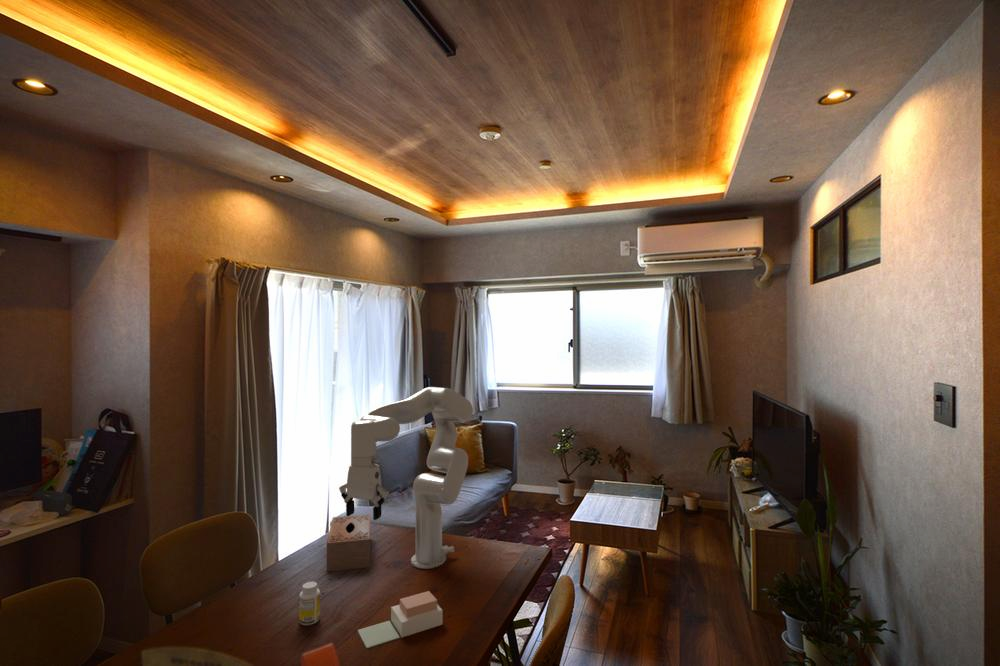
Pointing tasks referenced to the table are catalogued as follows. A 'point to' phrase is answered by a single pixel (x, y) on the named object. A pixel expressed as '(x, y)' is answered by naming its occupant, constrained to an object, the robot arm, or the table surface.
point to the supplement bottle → (309, 604)
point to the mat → (378, 634)
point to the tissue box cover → (349, 543)
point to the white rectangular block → (415, 620)
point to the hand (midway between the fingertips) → (363, 516)
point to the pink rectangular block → (418, 604)
